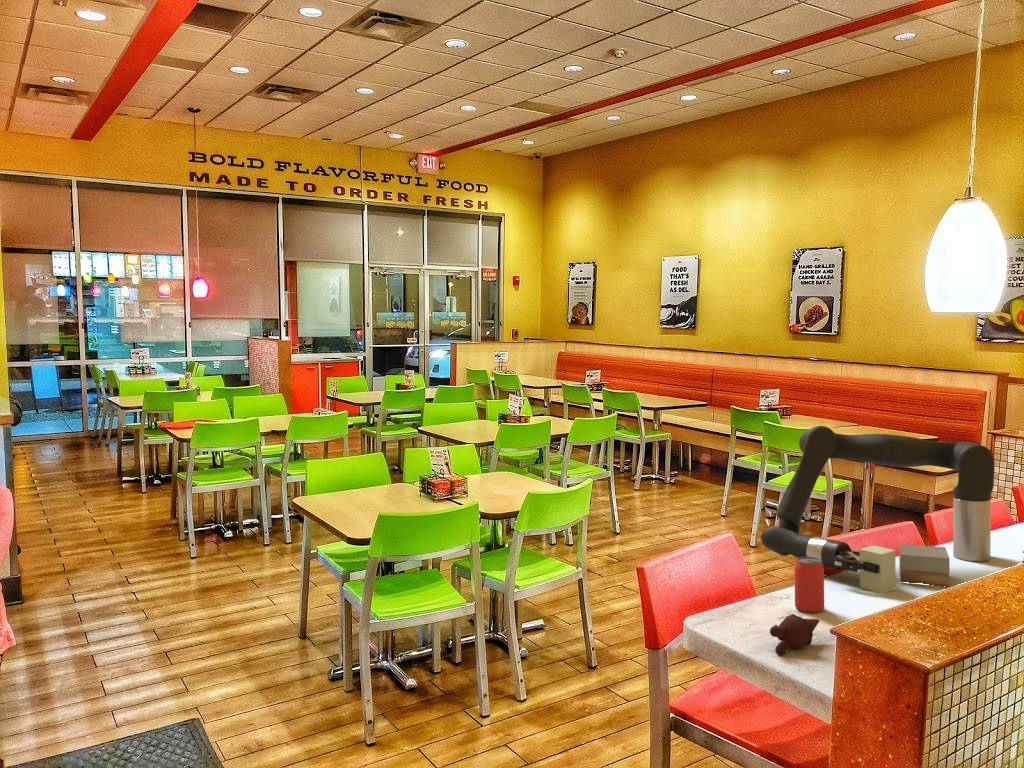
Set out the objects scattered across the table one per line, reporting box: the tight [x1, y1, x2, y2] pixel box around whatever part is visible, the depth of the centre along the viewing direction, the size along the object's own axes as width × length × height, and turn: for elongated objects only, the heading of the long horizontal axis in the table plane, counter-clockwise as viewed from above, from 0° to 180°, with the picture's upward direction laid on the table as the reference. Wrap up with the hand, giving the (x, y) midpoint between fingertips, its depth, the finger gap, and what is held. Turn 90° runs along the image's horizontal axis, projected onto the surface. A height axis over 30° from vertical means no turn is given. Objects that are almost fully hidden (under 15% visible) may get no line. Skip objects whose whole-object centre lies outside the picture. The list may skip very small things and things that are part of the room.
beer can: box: [793, 557, 825, 614], centre depth 182 cm, size 7×7×12 cm
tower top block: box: [898, 543, 951, 575], centre depth 201 cm, size 11×11×4 cm
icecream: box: [769, 613, 820, 655], centre depth 160 cm, size 7×7×15 cm
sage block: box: [859, 544, 897, 594], centre depth 195 cm, size 6×6×10 cm
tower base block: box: [898, 558, 950, 589], centre depth 201 cm, size 11×11×4 cm
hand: (886, 567), depth 193 cm, fingers closed on sage block, 6 cm apart
